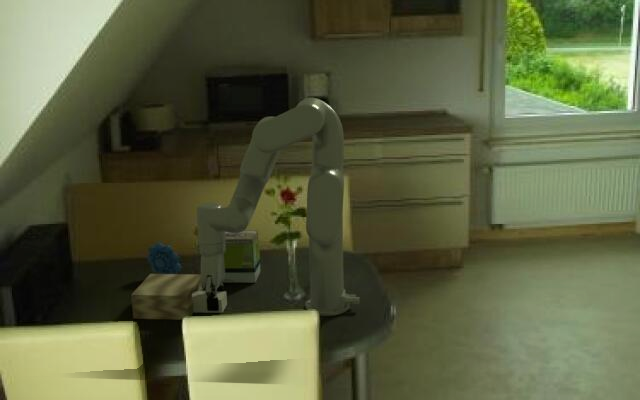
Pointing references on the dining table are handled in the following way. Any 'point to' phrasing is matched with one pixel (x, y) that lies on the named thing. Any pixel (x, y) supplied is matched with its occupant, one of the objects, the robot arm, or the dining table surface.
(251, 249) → the tea box
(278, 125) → the robot arm
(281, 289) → the dining table surface
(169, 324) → the dining table surface
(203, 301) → the cover board
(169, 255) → the grapes
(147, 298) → the oak box
